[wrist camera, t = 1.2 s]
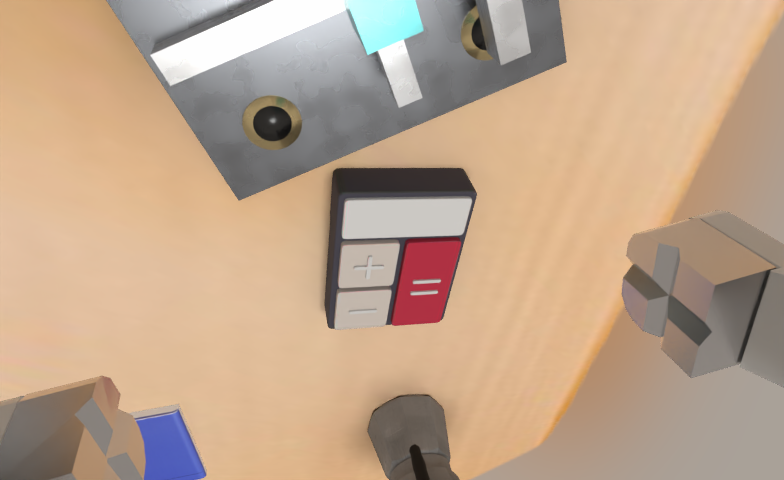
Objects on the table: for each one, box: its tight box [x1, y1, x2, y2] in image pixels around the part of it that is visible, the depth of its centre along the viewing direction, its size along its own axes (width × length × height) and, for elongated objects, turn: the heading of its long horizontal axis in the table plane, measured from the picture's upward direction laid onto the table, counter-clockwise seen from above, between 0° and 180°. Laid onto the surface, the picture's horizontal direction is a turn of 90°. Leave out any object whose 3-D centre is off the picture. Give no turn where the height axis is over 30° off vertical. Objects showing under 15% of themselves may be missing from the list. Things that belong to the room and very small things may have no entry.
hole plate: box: [106, 0, 567, 200], centre depth 34 cm, size 26×16×6 cm, turn 109°
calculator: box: [325, 168, 477, 330], centre depth 47 cm, size 11×4×15 cm
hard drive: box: [128, 404, 207, 480], centre depth 57 cm, size 2×8×12 cm
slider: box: [343, 0, 424, 108], centre depth 31 cm, size 3×9×7 cm, turn 19°
